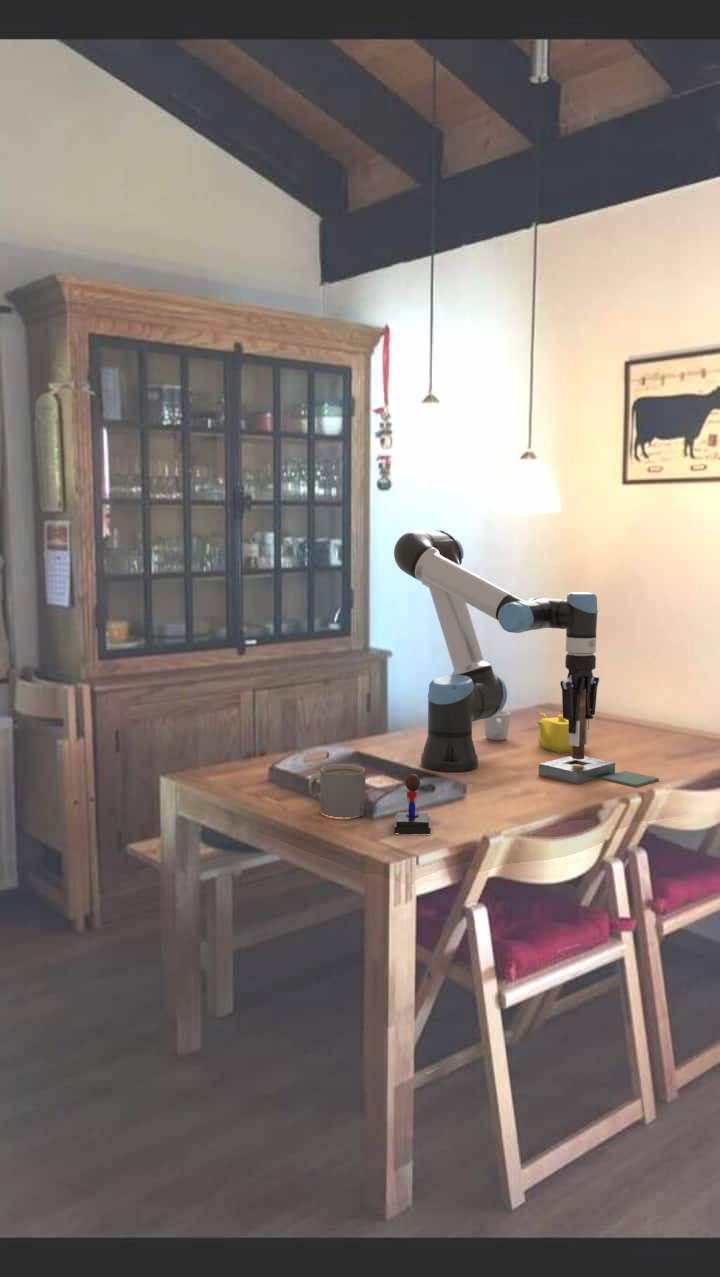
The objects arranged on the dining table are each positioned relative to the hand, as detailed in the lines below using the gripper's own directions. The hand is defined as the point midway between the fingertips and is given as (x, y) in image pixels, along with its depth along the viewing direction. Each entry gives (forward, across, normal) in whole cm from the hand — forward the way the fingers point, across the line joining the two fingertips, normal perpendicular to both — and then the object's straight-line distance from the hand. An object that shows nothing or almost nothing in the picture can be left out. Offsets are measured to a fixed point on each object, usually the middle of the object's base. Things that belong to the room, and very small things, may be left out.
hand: (578, 744), depth 266 cm
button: (+6, 0, 0) cm, 6 cm away
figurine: (+8, -65, -6) cm, 66 cm away
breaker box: (+8, 0, 0) cm, 8 cm away
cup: (+8, +16, +41) cm, 45 cm away
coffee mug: (+8, -69, +14) cm, 71 cm away
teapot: (+8, +22, +22) cm, 32 cm away
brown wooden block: (+4, 0, 0) cm, 4 cm away
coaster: (+8, +6, -12) cm, 16 cm away
